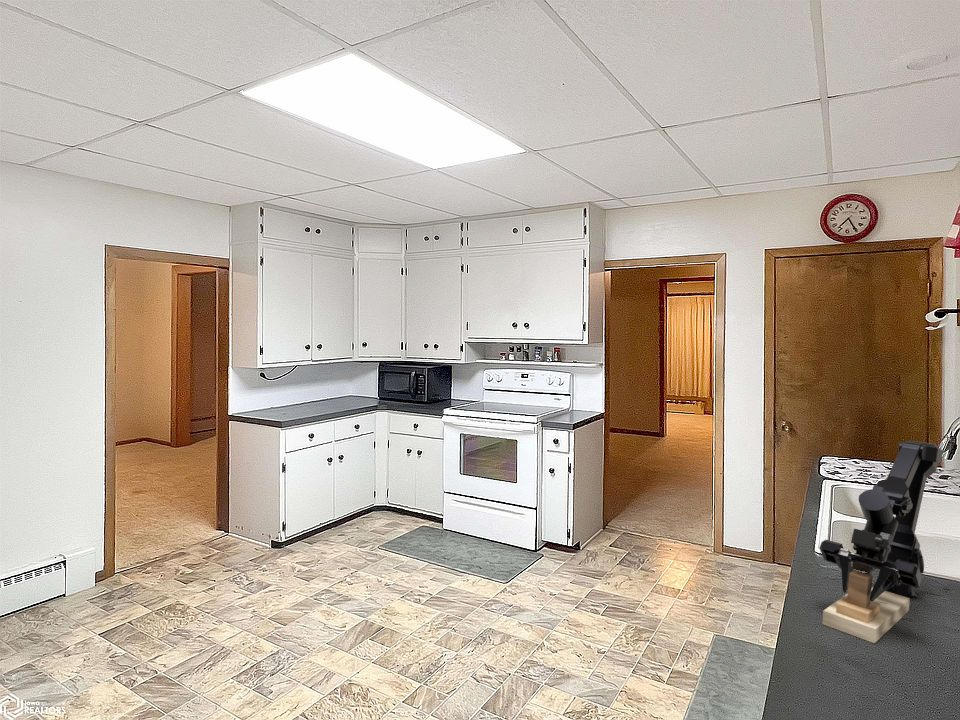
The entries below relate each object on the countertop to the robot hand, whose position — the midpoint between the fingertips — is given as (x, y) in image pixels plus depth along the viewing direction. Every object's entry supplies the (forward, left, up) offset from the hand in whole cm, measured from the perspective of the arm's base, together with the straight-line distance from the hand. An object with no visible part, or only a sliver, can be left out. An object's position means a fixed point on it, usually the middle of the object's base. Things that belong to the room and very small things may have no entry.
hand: (857, 595), depth 131 cm
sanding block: (-1, +1, -4) cm, 4 cm away
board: (-7, +4, -7) cm, 11 cm away
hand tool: (-45, +11, -8) cm, 47 cm away
